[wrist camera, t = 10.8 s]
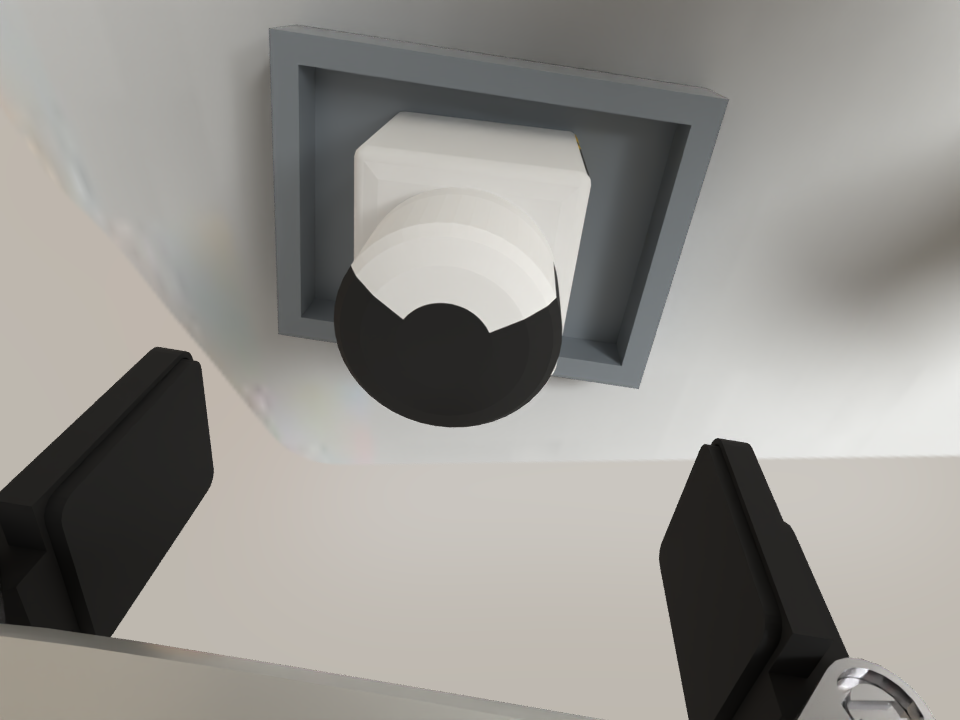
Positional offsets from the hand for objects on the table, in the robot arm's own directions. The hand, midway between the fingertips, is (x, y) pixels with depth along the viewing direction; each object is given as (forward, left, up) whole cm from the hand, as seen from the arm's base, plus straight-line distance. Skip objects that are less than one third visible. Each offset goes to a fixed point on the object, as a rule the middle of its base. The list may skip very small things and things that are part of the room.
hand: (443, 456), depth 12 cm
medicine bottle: (+1, 0, -17) cm, 17 cm away
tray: (0, +1, -18) cm, 18 cm away
